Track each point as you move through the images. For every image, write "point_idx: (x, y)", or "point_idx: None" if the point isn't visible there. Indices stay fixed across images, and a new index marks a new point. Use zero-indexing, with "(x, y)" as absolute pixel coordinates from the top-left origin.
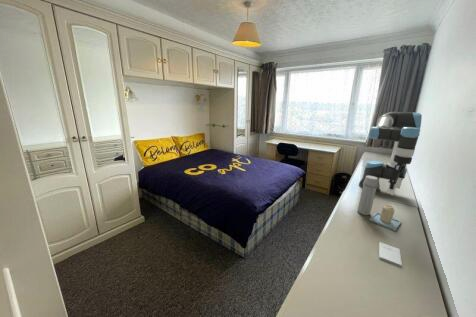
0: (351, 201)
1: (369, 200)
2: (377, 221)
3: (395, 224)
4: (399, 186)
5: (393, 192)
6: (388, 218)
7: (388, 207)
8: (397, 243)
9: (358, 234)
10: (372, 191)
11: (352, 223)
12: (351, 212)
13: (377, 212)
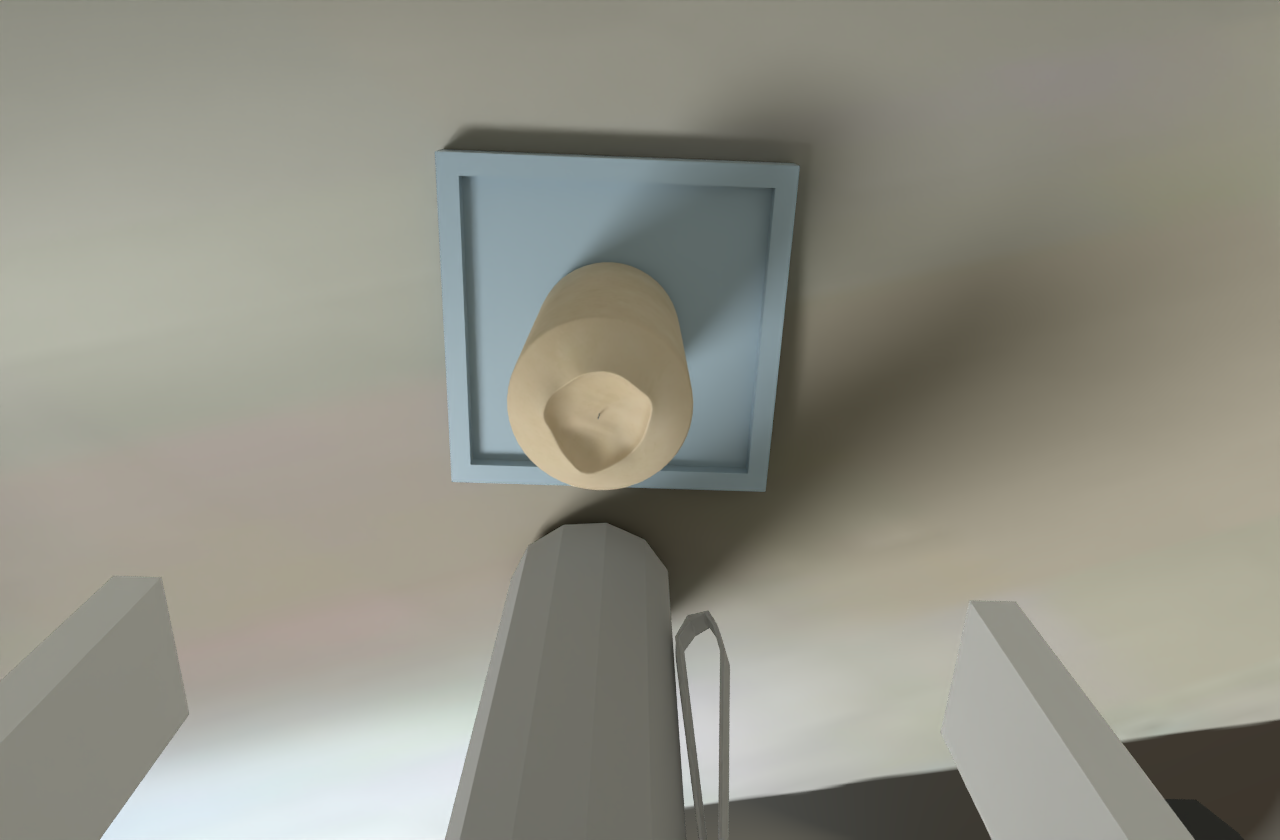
0: (388, 770)
1: (659, 712)
2: (757, 399)
3: (596, 199)
4: (112, 649)
5: (1061, 664)
6: (674, 316)
7: (650, 423)
8: (1118, 70)
9: (1230, 464)
10: None
11: (1009, 584)
12: None
13: (457, 468)
